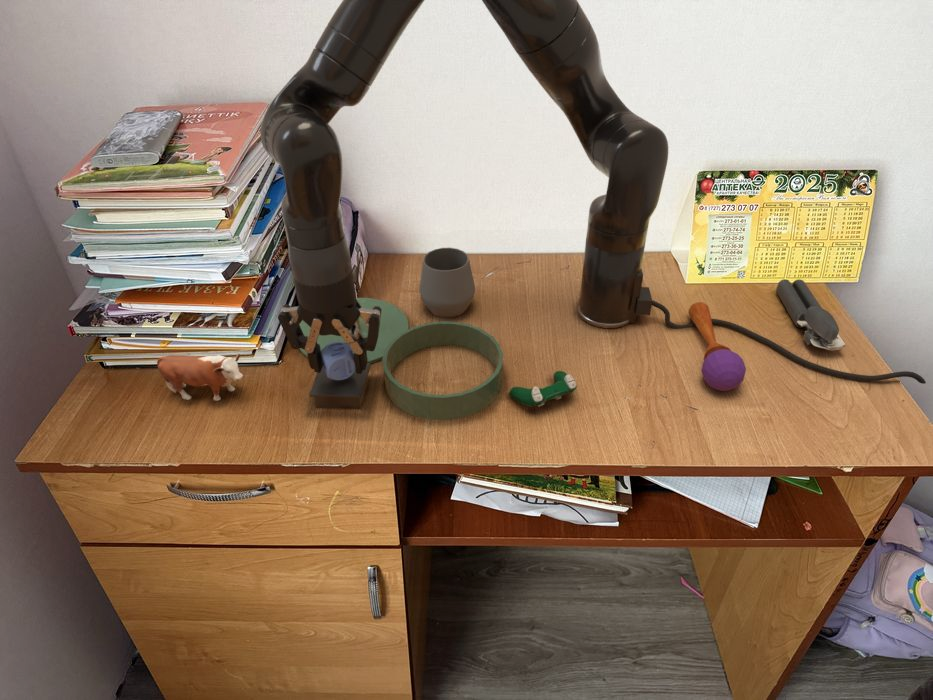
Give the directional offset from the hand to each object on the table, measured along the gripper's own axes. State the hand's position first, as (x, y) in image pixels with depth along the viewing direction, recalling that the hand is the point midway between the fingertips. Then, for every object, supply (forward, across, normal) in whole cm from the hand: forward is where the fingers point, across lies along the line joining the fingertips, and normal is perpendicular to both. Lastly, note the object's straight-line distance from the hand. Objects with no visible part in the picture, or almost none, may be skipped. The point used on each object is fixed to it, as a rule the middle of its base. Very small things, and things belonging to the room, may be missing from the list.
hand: (339, 369), depth 96 cm
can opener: (+5, -73, -21) cm, 76 cm away
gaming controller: (+5, -29, -1) cm, 30 cm away
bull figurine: (+5, +20, +1) cm, 20 cm away
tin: (+5, -14, -4) cm, 16 cm away
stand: (+5, 0, 0) cm, 5 cm away
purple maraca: (+5, -55, -12) cm, 57 cm away
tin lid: (+5, +2, -15) cm, 16 cm away
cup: (+5, -13, -23) cm, 27 cm away
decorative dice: (+1, 0, 0) cm, 1 cm away
